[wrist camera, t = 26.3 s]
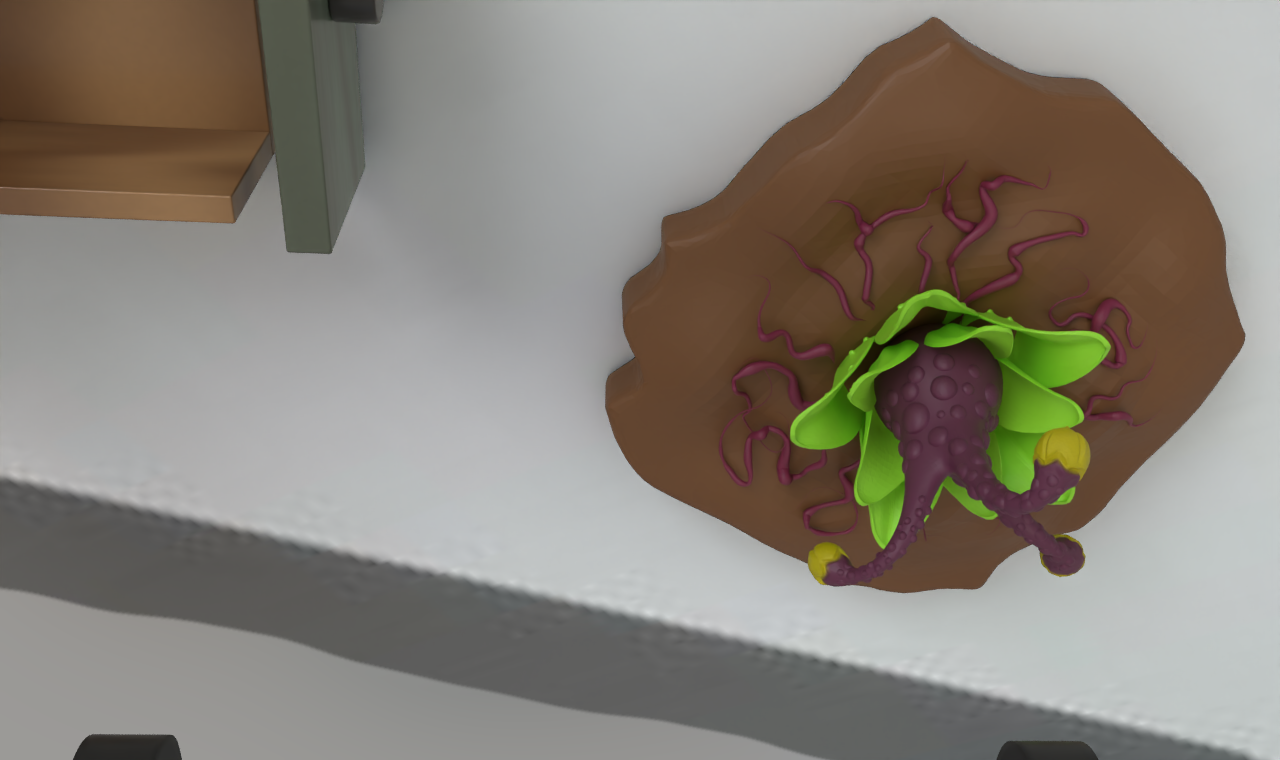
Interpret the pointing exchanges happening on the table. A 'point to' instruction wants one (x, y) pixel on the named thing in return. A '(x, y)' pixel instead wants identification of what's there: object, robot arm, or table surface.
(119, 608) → the table surface
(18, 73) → the drawer
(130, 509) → the table surface
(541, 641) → the table surface
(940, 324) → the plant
